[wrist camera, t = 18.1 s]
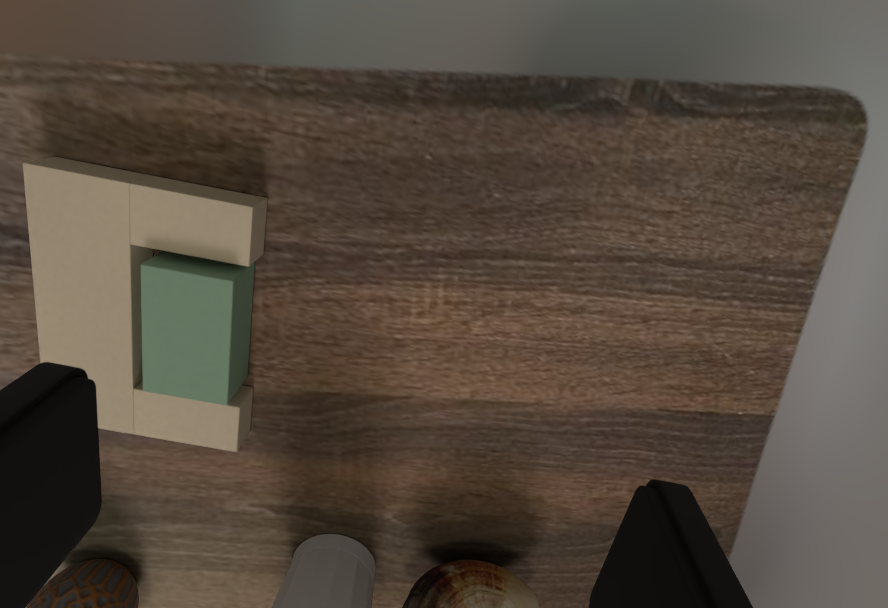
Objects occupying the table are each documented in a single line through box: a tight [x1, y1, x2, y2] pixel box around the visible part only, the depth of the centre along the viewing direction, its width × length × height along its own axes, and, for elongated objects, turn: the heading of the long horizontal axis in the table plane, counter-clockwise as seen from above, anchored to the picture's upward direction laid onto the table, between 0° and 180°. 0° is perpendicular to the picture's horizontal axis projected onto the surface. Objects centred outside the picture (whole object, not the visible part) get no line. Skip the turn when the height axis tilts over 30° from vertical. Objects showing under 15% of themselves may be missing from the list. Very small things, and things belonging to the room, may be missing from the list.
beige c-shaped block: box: [23, 157, 267, 452], centre depth 33 cm, size 16×12×2 cm
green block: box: [141, 251, 255, 405], centre depth 33 cm, size 8×5×4 cm, turn 169°
